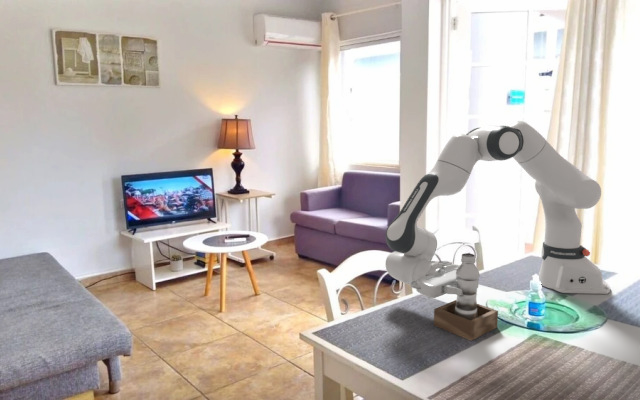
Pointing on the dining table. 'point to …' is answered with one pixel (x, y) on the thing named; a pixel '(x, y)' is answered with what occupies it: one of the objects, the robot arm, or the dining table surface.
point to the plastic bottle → (467, 287)
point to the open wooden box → (465, 321)
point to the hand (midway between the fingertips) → (469, 289)
